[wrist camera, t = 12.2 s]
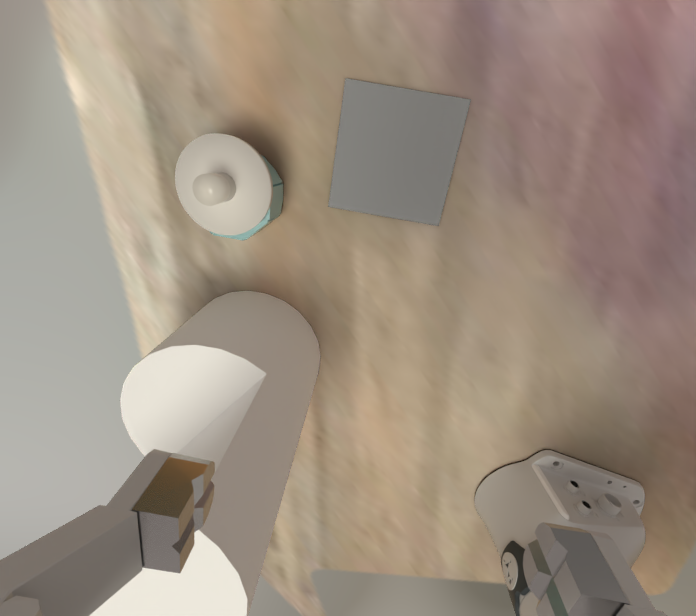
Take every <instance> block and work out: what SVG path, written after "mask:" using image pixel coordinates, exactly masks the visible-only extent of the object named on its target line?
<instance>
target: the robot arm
mask: <svg viewBox="0 0 696 616" xmlns="http://www.w3.org/2000/svg"><path fill="white" fill-rule="evenodd" d="M214 473H215V462H213V461H209V460H205V459H200V458H195V457H191V456H186V455H182V454H177V453H171V452H166V451H161V450H157V449H153V450H152V451H151V452H149V453H148V454H147V455H146V456H145V457H144V459H143V460H142V461H141V462H140V464H139V465H138V466H137V468H136V469H135V470H134V472H133V473H132V474H131V475H130V476H129V478H128V479H127V480H126V482H125V483H124V484H123V485H122V487H121V488H120V489H119V491H118V492H117V493H116V494H115V496H114V497H113V498H112V500H111V501H110V502H109V503H108V505H107V506H103V505H99V506H97V507H95V508H94V509H92V510H90V511H88V512H86V513H85V514H83V515H81V516H79V517H77V518H76V519H74V520H72V521H70V522H68V523H67V524H65V525H63V526H61V527H59V528H58V529H56V530H54V531H52V532H50V533H48V534H47V535H45V536H43V537H41V538H39V539H38V540H36V541H34V542H32V543H30V544H29V545H27V546H25V547H24V548H21V549H20V550H18V551H16V552H14V553H12V554H11V555H9V556H7V557H6V558H3V559H2V560H0V616H89V615H91V614H92V613H93V612H94V611H95V610H96V609H98V608H99V607H100V606H101V605H102V604H103V603H105V602H106V601H107V600H108V599H109V598H110V597H112V596H113V595H114V594H115V593H116V592H118V591H119V590H120V589H121V588H122V587H123V586H125V585H126V584H127V583H128V582H129V581H130V580H132V579H133V578H134V577H135V576H136V575H138V574H139V573H140V572H141V571H142V568H148V569H155V570H161V571H167V572H173V573H181V571H182V569H183V567H184V565H185V563H186V561H187V559H188V557H189V555H190V552H191V550H192V548H193V546H194V532H196V531H197V530H199V529H200V528H201V527H203V525H204V523H205V521H206V519H207V517H208V514H209V511H210V508H211V505H212V502H213V497H214V487H215V485H214V484H213V482H212V481H211V479H212V477H213V475H214ZM644 502H645V493H644V489H643V487H642V486H641V484H640V483H639V482H637V481H635V480H632V479H629V478H626V477H624V476H621V475H618V474H615V473H613V472H610V471H607V470H604V469H601V468H599V467H596V466H593V465H590V464H588V463H585V462H582V461H579V460H576V459H574V458H571V457H568V456H565V455H563V454H560V453H557V452H554V451H551V450H544V451H541V452H539V453H537V454H535V455H534V456H532V457H530V458H529V459H527V460H525V461H522V462H519V463H515V464H511V465H508V466H505V467H503V468H500V469H499V470H497V471H495V472H493V473H492V474H490V475H489V476H488V477H487V478H486V479H485V480H484V481H483V482H482V483H481V484H480V486H479V488H478V489H477V492H476V495H475V508H476V511H477V513H478V515H479V516H480V518H481V519H482V521H483V522H484V524H485V526H486V527H487V529H488V531H489V533H490V535H491V537H492V539H493V542H494V544H495V546H496V548H497V551H498V553H499V556H500V558H501V565H502V569H503V574H504V578H505V581H506V585H507V588H508V592H509V595H510V598H511V601H512V604H513V607H514V610H515V613H516V616H667V615H666V614H665V613H664V612H662V611H658V610H656V609H655V608H654V606H653V605H652V603H651V601H650V600H649V598H648V596H647V595H646V593H645V591H644V590H643V588H642V586H641V585H640V583H639V581H638V580H637V578H636V577H635V575H634V573H633V572H632V570H631V567H632V566H633V564H634V563H635V561H636V560H637V558H638V557H639V555H640V553H641V551H642V549H643V547H644V544H645V538H646V533H645V528H644V524H643V522H642V520H641V518H640V514H641V512H642V509H643V506H644Z"/></svg>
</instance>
